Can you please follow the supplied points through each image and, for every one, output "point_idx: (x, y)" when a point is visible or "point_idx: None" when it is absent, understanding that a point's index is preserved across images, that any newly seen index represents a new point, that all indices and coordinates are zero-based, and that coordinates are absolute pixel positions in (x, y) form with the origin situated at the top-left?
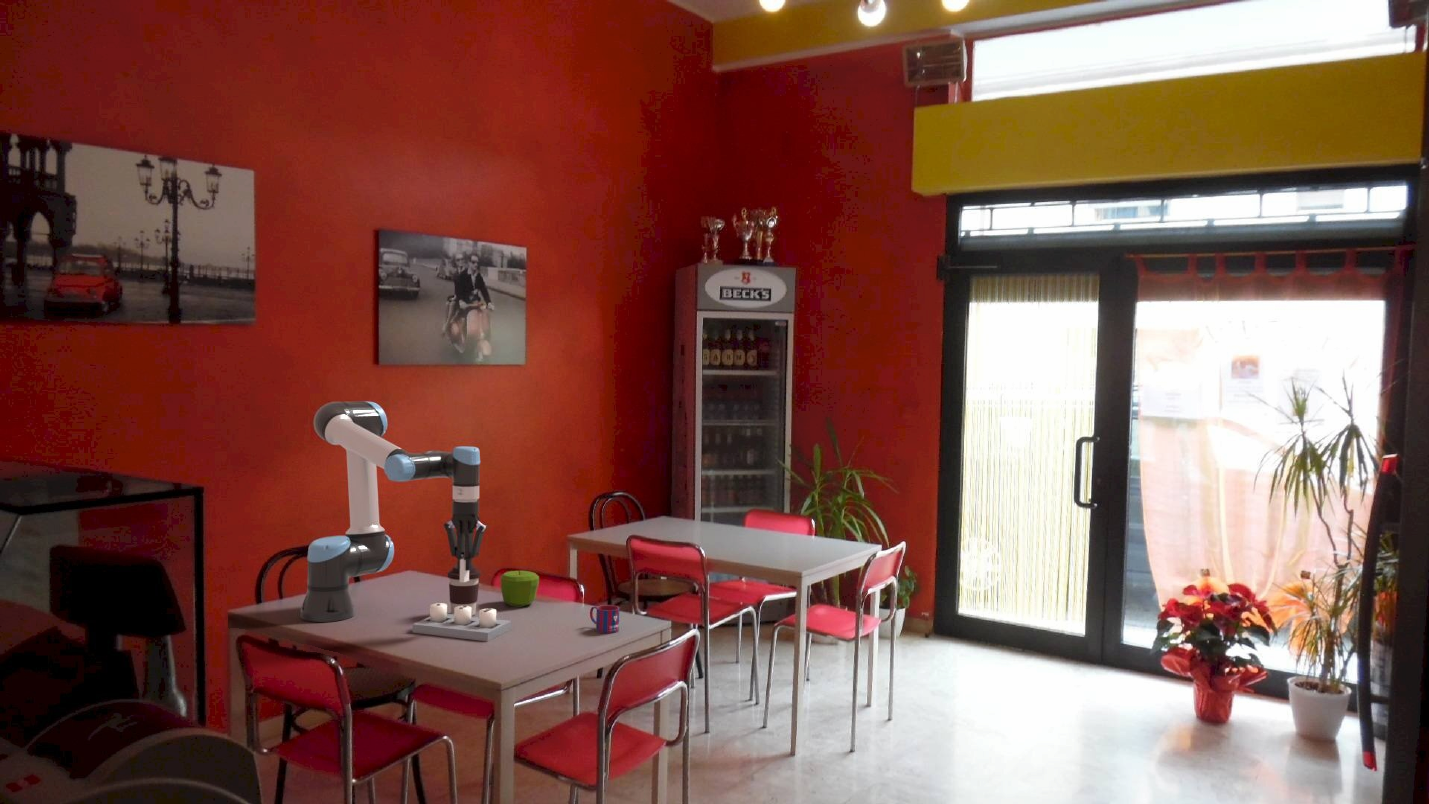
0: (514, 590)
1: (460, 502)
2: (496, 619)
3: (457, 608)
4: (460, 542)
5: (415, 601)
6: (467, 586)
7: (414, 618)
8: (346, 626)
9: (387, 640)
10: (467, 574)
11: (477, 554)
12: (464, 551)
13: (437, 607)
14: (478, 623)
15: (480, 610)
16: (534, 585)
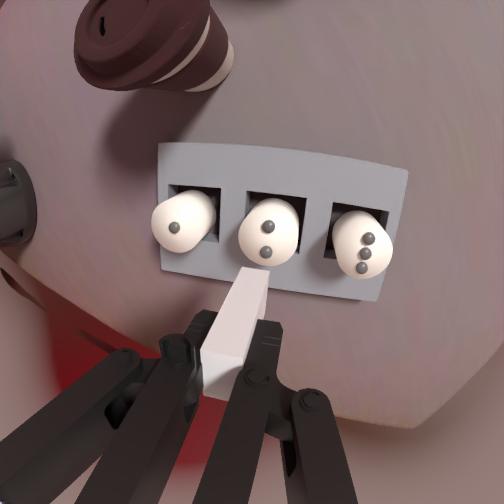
0: None
1: None
2: (361, 163)
3: (253, 252)
4: (157, 497)
5: (64, 35)
6: (188, 66)
7: (110, 146)
8: (59, 249)
9: (164, 319)
10: (262, 307)
11: (325, 416)
12: (181, 398)
13: (185, 251)
14: (323, 221)
15: (340, 257)
16: None
